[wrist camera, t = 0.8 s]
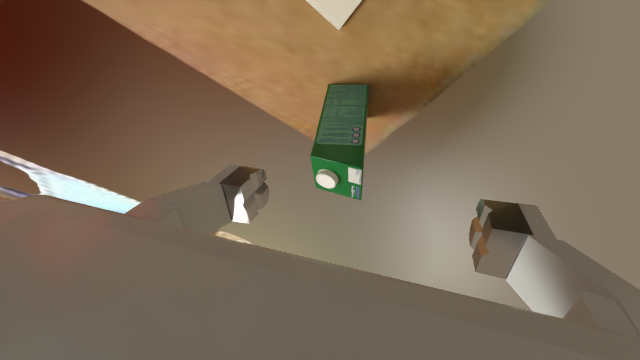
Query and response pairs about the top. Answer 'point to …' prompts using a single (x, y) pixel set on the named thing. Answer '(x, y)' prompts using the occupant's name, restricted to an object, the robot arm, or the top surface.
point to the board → (335, 10)
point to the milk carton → (341, 140)
